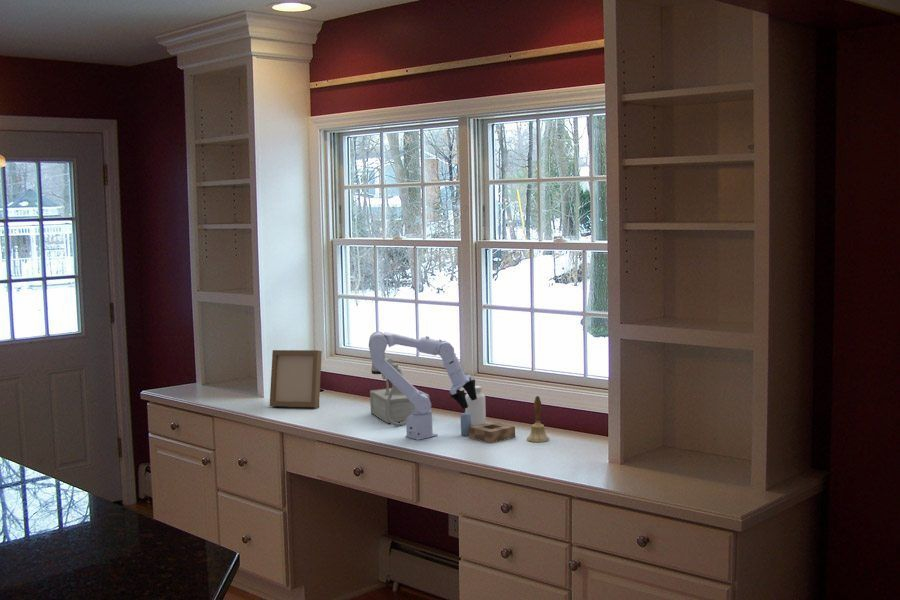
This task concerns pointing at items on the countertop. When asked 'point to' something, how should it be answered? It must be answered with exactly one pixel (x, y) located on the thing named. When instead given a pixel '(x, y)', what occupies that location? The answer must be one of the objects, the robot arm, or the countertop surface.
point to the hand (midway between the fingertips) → (470, 403)
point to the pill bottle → (477, 407)
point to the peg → (465, 423)
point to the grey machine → (390, 401)
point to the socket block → (491, 432)
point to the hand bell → (537, 425)
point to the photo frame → (295, 378)
